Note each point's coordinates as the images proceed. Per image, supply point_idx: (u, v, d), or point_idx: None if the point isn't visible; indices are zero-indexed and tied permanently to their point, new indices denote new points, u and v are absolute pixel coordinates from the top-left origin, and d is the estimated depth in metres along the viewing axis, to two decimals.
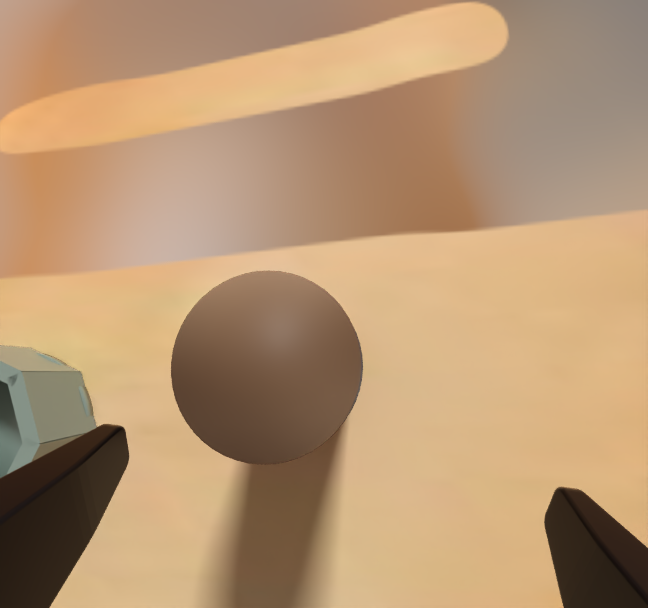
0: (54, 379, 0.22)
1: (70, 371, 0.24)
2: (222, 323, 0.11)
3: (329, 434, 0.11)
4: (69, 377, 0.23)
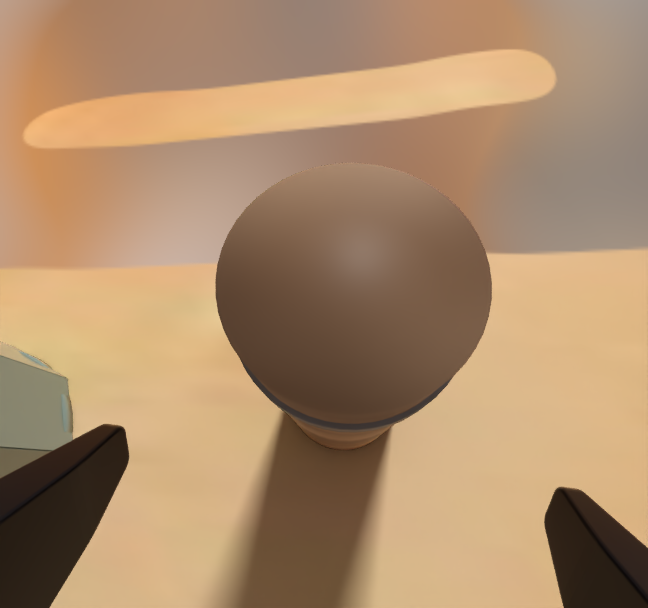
0: (34, 376, 0.18)
1: (55, 374, 0.20)
2: (294, 220, 0.08)
3: (448, 375, 0.07)
4: (53, 380, 0.19)
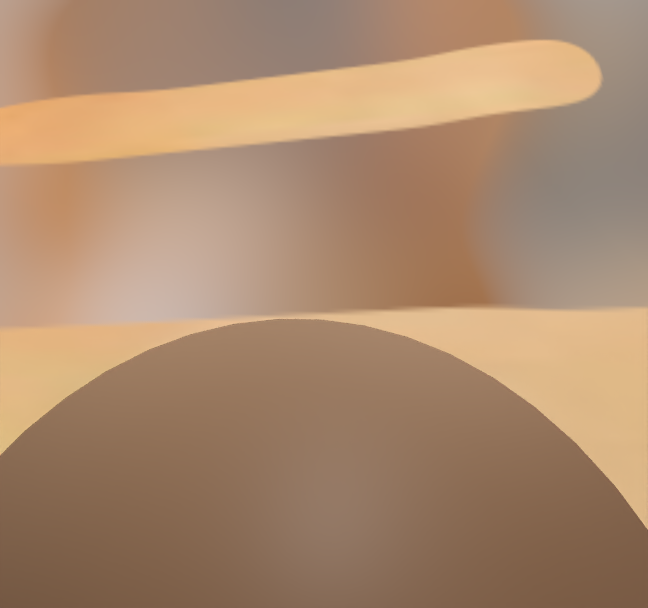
0: None
1: None
2: (117, 518, 0.03)
3: None
4: None
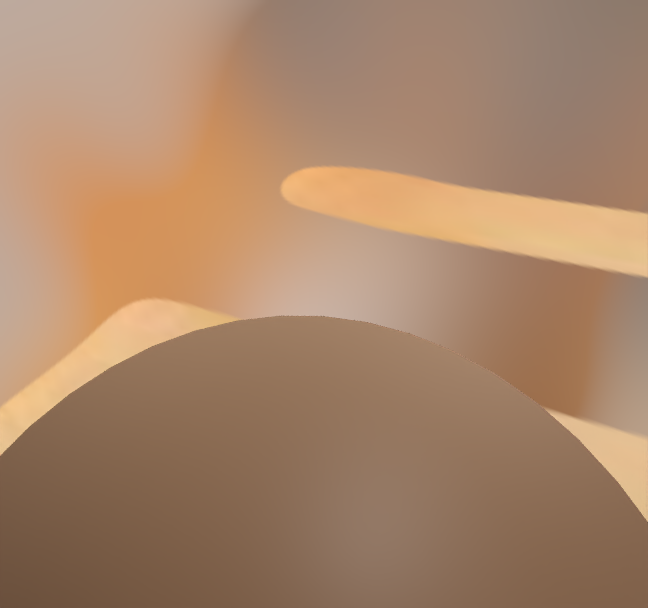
0: None
1: None
2: (121, 513, 0.03)
3: None
4: None
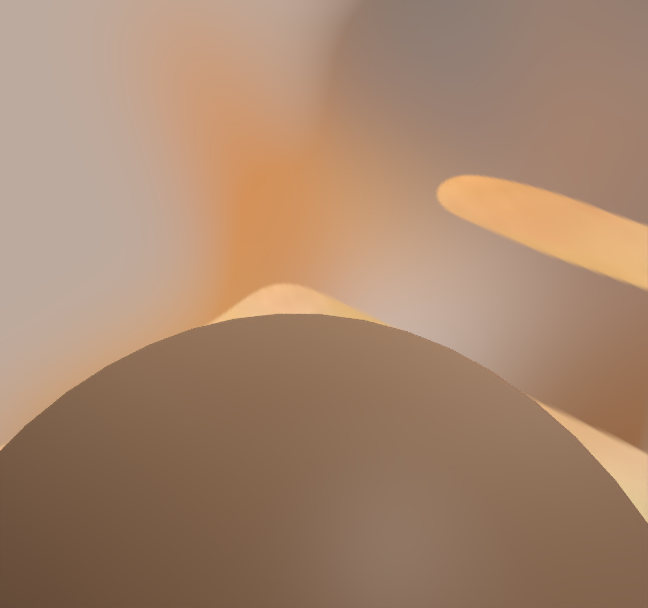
0: None
1: None
2: (118, 511, 0.03)
3: None
4: None
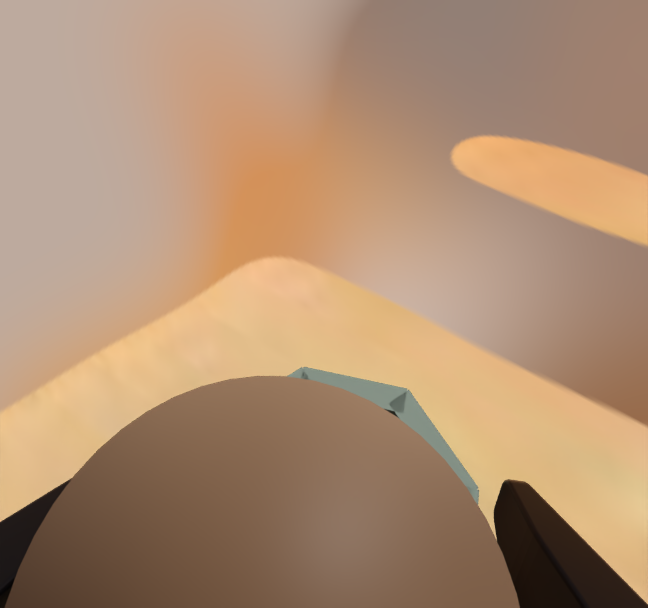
0: None
1: None
2: (157, 505, 0.04)
3: None
4: None
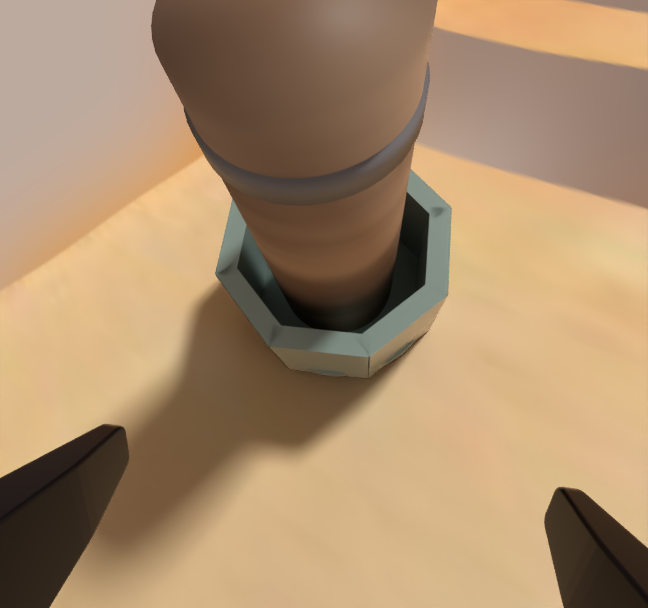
0: None
1: None
2: None
3: (394, 71, 0.07)
4: None
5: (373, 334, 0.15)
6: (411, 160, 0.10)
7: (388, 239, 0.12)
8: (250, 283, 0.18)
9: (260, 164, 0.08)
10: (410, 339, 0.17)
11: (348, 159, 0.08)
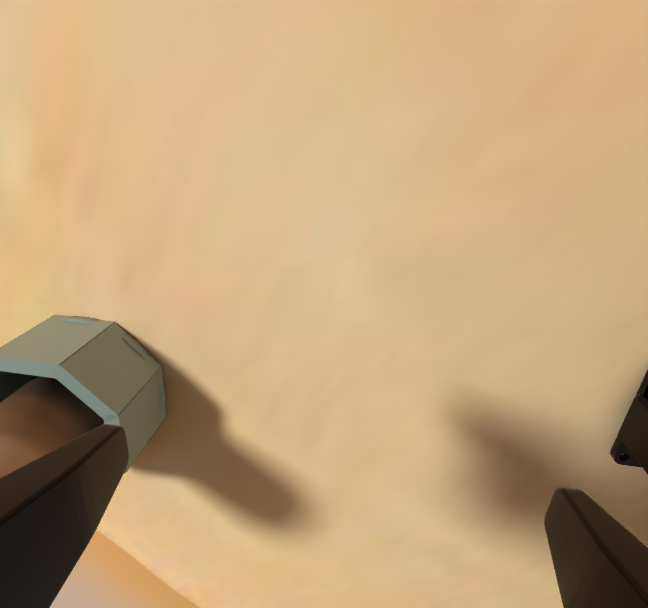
0: (30, 335, 0.21)
1: (43, 322, 0.23)
2: None
3: None
4: (45, 324, 0.23)
5: (101, 412, 0.20)
6: None
7: (9, 449, 0.17)
8: None
9: None
10: (117, 352, 0.22)
11: None
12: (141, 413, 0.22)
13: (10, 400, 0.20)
